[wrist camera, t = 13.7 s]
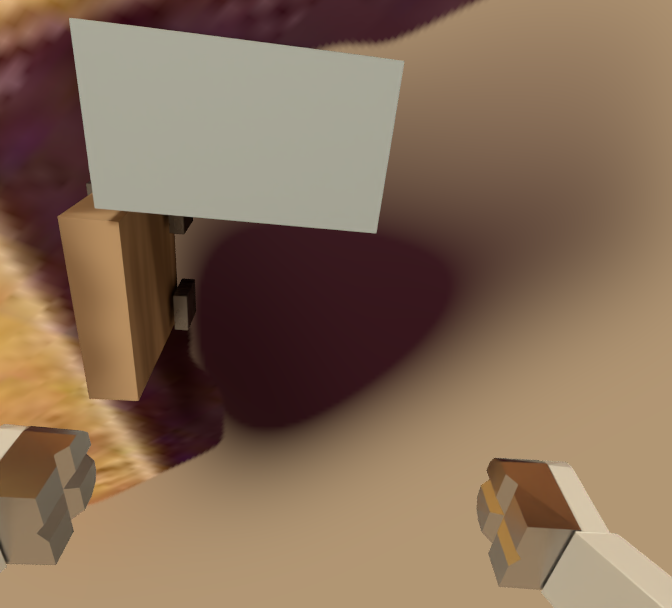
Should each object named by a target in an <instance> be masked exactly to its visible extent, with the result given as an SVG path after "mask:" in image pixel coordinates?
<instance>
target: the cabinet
mask: <svg viewBox="0 0 672 608" xmlns="http://www.w3.org/2000/svg"><path fill="white" fill-rule="evenodd" d="M69 21H70V29H71V36H72V43H73V51H74V58H75V66H76V73H77V81H78V88H79V96H80V103H81V110H82V118H83V125H84V133H85V140H86V148H87V155H88V162H89V170H90V177H91V185H92V192H93V200H94V207H95V208H97V209H108V210H119V211H130V212H142V213H153V214H164V215H175V216H187V217H199V218H210V219H221V220H232V221H243V222H254V223H265V224H277V225H288V226H300V227H310V228H322V229H334V230H344V231H355V232H367V233H376V231H377V226H378V220H379V213H380V208H381V201H382V195H383V189H384V183H385V177H386V171H387V165H388V159H389V152H390V146H391V140H392V134H393V127H394V122H395V116H396V109H397V102H398V97H399V91H400V85H401V79H402V72H403V67H404V61H399V60H392V59H386V58H378V57H372V56H364V55H356V54H349V53H341V52H333V51H326V50H318V49H310V48H302V47H295V46H287V45H279V44H271V43H264V42H256V41H248V40H241V39H233V38H225V37H217V36H210V35H202V34H194V33H186V32H179V31H171V30H163V29H156V28H148V27H139V26H131V25H123V24H115V23H107V22H99V21H91V20H82V19H74V18H69Z"/></svg>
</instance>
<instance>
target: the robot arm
mask: <svg viewBox="0 0 672 608" xmlns="http://www.w3.org/2000/svg"><path fill="white" fill-rule="evenodd" d="M90 446H91V443H90V439H89V435H88V432H85V431H79V430H68V429H57V428H47V427H36V426H20V425H9V424H4V425H2V426H0V572H1V571H2V570H4V569H5V568H6V567H7V565H6V564H36V565H38V564H39V565H56V564H57V562H58V560H59V558H60V556H61V555H62V553H63V551H64V549H65V547H66V545H67V543H68V541H69V539H70V537H71V535H72V533H73V532H74V531H73V526H72V523H71V519H73V518H74V517H76V516H77V515H79V514H80V513H81V512H83V511H84V510H85V509H86V506H87V504H88V502H89V500H90V498H91V496H92V493H93V489H94V485H95V482H96V467H95V462H94V460H93V459H92V458H91V457H89V456H88V455H87V454H86V453H87V451H88V449H89V447H90ZM487 473H488V476H489V480H488V481H486V482H485V483H484V484H482V485H481V487H480V490H479V493H478V496H477V515H478V521H479V524H480V528H481V531H482V533H483V534H484V535H485V536H486V537H487V538H488V539H489V540H490V541H491V542H492V546H491V548H490V551H489V557H490V560H491V563H492V566H493V570H494V572H495V576H496V579H497V582H498V585H499V587H512V588H524V589H537V590H542V591H541V593H542V594H543V595H544V596H545V597H546V599H547V600H548V601H549V602H550V603H551V605H553V607H554V608H672V577H671V576H670V575H669V574H667V573H666V572H665V571H664V570H662V569H661V568H660V567H659V566H657V565H656V564H655V563H654V562H652V561H651V560H650V559H648V558H647V557H646V556H645V555H643V554H642V553H641V552H640V551H638V550H637V549H636V548H634V547H633V546H632V545H631V544H630V543H628V542H627V541H626V540H625V539H623V538H622V537H621V536H620V535H618V534H613V533H610V532H609V530H608V529H607V527H606V525H605V524H604V522H603V520H602V518H601V516H600V515H599V513H598V511H597V510H596V508H595V506H594V504H593V503H592V501H591V499H590V498H589V496H588V494H587V492H586V491H585V489H584V487H583V486H582V484H581V482H580V480H579V479H578V477H577V475H576V473H575V472H574V470H573V468H572V467H571V466H570V465H569V464H568V463H567V462H556V461H539V460H524V459H507V458H494V459H493V460H492V461H491V462H490V463H489V466H488V468H487Z"/></svg>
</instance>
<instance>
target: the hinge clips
mask: <svg viewBox="0 0 672 608" xmlns="http://www.w3.org/2000/svg"><path fill="white" fill-rule="evenodd" d="M86 186H87V193H88V195H90V194H91V193H93V192H92V185H91V181H89V182H88V183H86ZM168 216H169V233H173V234H185V232H186V231H187V229H188V227H189V226H190V224H191V223H192V221H193V217H187V216H175V215H168ZM173 302H174V320H175V329H176V330H188V329H189V327H190V325H191V322H192V320H193V317H194V315H195V312H196V301H195V280H194V279H182V280H181V282H180V284H179V286H178V287H177V289H176V291H175V293H174V295H173Z"/></svg>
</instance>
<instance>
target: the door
mask: <svg viewBox="0 0 672 608" xmlns="http://www.w3.org/2000/svg"><path fill="white" fill-rule="evenodd" d="M58 222H59V228H60V233H61V239H62V245H63V250H64V256H65V262H66V268H67V273H68V279H69V285H70V290H71V296H72V302H73V308H74V313H75V319H76V325H77V330H78V336H79V342H80V348H81V353H82V359H83V365H84V371H85V376H86V382H87V388H88V393H89V399H110V400H131V401H139V398H140V396H141V394H142V392H143V390H144V388H145V386H146V384H147V381H148V379H149V377H150V375H151V373H152V371H153V369H154V366H155V364H156V362H157V360H158V358H159V356H160V354H161V352H162V349H163V347H164V345H165V343H166V341H167V339H168V337H169V335H170V332H171V330H172V328H173V326H174V324H175V320H174V302H173V295H174V293H175V291H176V289H177V274H176V254H175V236H174V234H173V233H169V216H168V215H164V214H153V213H142V212H130V211H119V210H108V209H97V208H95V207H94V200H93V193H91V194H90V195H88V196H87V197H85V198H84V199H83V200H81V201H80V202H78V203H77V204H75V205H74V206H72V207H71V208H69V209H68V210H67V211H65V212H64V213H62V214H61V215H59V216H58Z"/></svg>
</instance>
